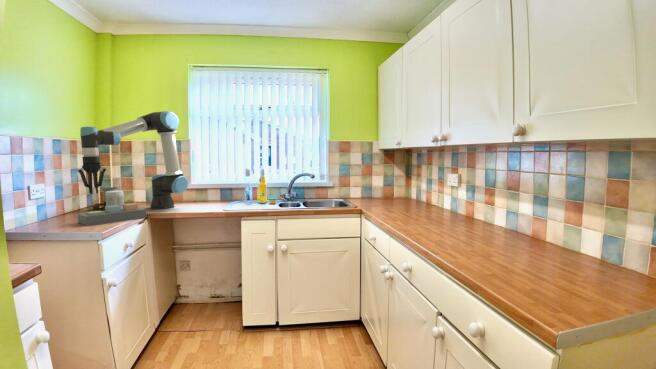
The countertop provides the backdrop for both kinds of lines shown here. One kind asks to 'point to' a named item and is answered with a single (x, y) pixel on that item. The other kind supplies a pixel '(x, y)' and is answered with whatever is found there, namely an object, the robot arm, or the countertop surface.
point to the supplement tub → (114, 198)
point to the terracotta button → (130, 206)
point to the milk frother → (104, 197)
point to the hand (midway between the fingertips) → (94, 199)
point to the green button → (94, 212)
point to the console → (111, 217)
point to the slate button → (112, 208)
